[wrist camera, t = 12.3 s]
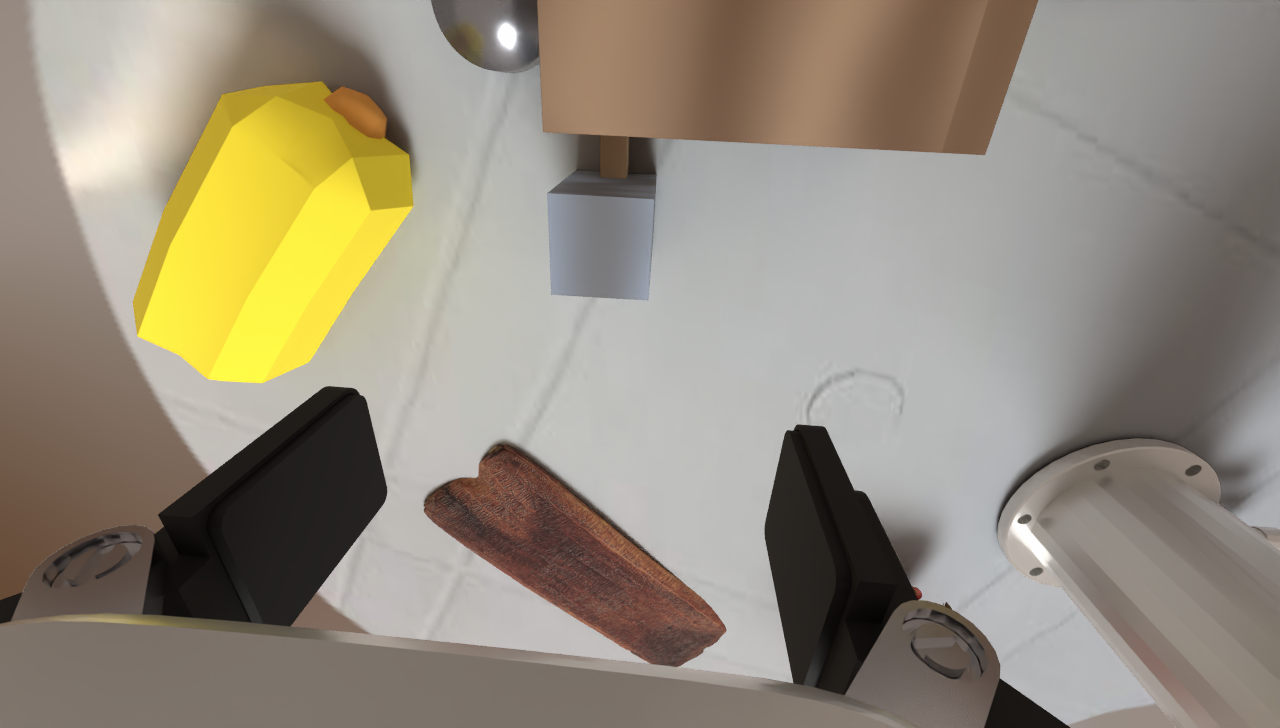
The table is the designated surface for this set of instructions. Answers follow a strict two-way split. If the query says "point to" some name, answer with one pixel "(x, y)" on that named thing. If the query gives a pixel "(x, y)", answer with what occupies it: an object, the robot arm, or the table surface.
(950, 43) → the walnut shelf
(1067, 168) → the table surface
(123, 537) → the robot arm
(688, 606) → the wooden tablet
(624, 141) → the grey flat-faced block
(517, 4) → the steel token
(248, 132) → the yellow faceted part
